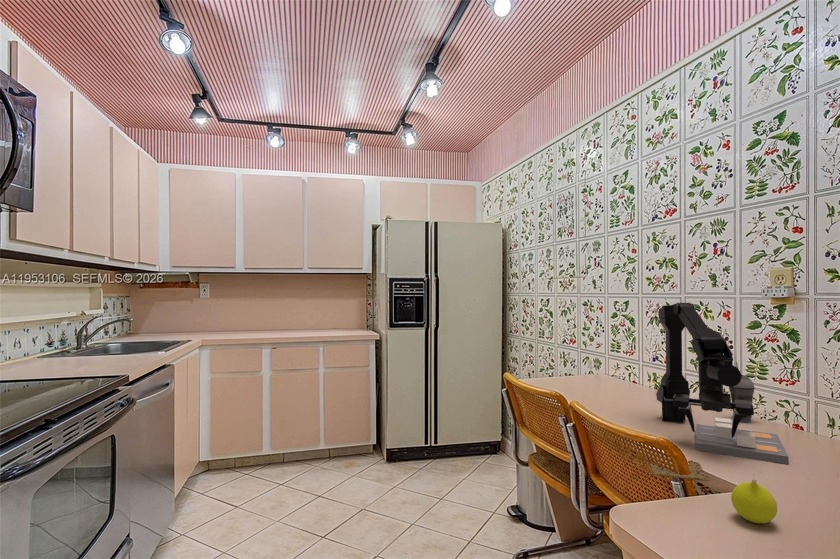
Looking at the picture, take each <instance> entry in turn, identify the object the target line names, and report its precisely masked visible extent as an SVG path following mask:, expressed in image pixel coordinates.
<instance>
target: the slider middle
mask: <svg viewBox="0 0 840 559" xmlns="http://www.w3.org/2000/svg"><path fill="white" fill-rule="evenodd" d="M715 426H716V437H723V438H731V439H733V438H732V434H731V429H732V424H724V423H716V425H715Z"/></svg>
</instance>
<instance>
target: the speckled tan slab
mask: <svg viewBox="0 0 840 559" xmlns="http://www.w3.org/2000/svg"><path fill="white" fill-rule="evenodd" d="M688 463H689V466H690V471H691V474H689V475H680V474H677V473H674V472H672V471H670V470H667V469H664V468H661V467H658V466H656V465H653V464H650V463H649V465H650V468H651V470H652V474H653V476H654V475H655V476H662V477H663V476H664V477H669V478H671V477H672V478H678V479H687V480H696V481H702V482H703V481H704V482H710V478H709V476H708V475H707V473H705V471H704V469H703V468H702V466H700V465H701V464H700V463H699V462H698V461H693V460H688Z"/></svg>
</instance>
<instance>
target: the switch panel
mask: <svg viewBox="0 0 840 559" xmlns="http://www.w3.org/2000/svg"><path fill="white" fill-rule="evenodd" d="M695 428H696V429H695V450H696V451H699V450H700V451H701V452H705V451H706V452H705V453H712V454H720V455H725V456H733V457H739V458H745V459H752V460H758V461H765V462H770V463H771V462H772V463H778V464H782V465H783V464H784V465H790V461H789V460H790V458H789V455H788V453H787V451H786V449H785V447H784V445H783V443H782V441H781V439H780V437H779V435H778V434H777V433H768V432H761V431H754V430H746V429H739V428H737V430H736V431H744V432H751V433H754V435H755V444H756V448H750V447H743V446H737V443H736V432H735V435H734V438H733V439H731V438H723V437H716V425H715V426H713V425H709V424H708V425H707V424H699V423H696V425H695Z"/></svg>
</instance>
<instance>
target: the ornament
mask: <svg viewBox="0 0 840 559" xmlns="http://www.w3.org/2000/svg"><path fill="white" fill-rule="evenodd" d="M755 475H756V474H755V473H753V476H755ZM730 499H731V500H730V501H731V504H732V506H733V508H734V509H735V511H736V512H737V514H738V515H739V516H741V517H742V518H744V519H745V521H746V520H747V521H749V522H751V523H754V524H766V523H767V524H768V523H769V522H771V521H773V519H775V518H776V516H777V513H778V504H777V501H776V498H775V497H774V496H773V494H772V492H770V491H769V490H768V489H767V488H766V487H764V486H762V485H760V484H758V483H757V479H756V477H752V478H751V482H741V483H739V484H737V485H736V486H735V487H734V488H733V490H732V492H731V497H730Z"/></svg>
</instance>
